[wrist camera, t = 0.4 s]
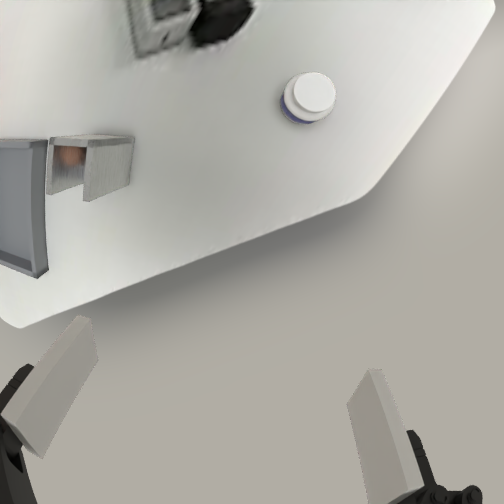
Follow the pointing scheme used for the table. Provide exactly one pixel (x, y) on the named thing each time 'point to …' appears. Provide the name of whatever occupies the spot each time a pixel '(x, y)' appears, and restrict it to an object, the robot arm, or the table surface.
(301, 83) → the pill bottle
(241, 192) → the table surface
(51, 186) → the u-shaped arch block
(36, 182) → the tray
